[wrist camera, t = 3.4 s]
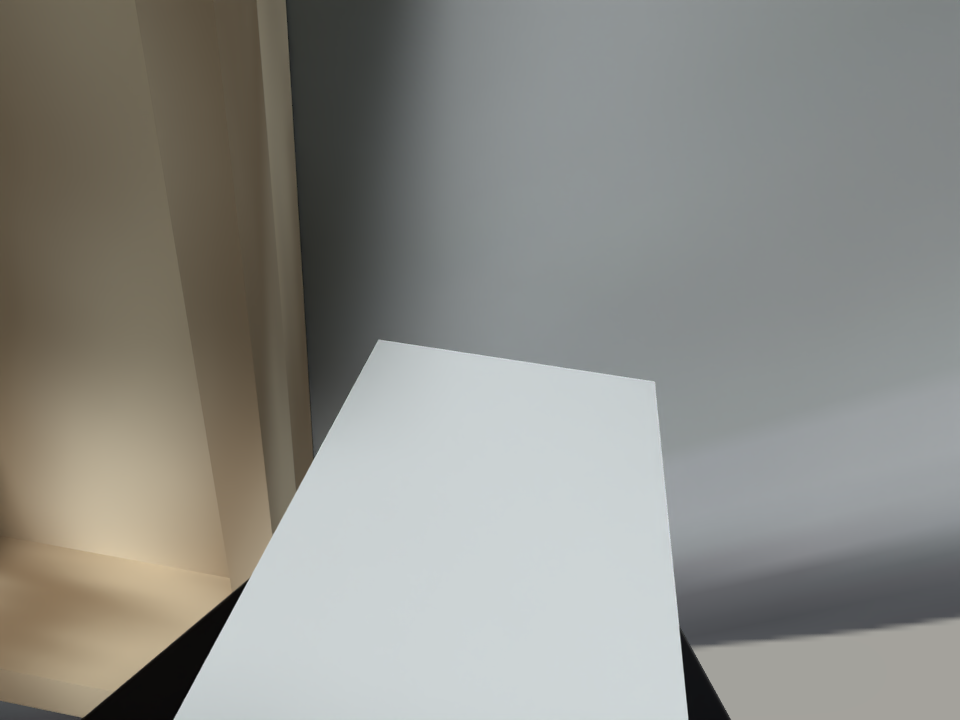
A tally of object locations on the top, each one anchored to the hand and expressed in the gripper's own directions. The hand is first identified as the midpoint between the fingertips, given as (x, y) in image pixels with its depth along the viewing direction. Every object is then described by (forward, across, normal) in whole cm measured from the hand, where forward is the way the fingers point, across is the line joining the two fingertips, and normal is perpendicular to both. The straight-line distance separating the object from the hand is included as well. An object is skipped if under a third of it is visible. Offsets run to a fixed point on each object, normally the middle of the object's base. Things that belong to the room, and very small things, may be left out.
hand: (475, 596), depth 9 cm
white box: (+3, 0, 0) cm, 3 cm away
